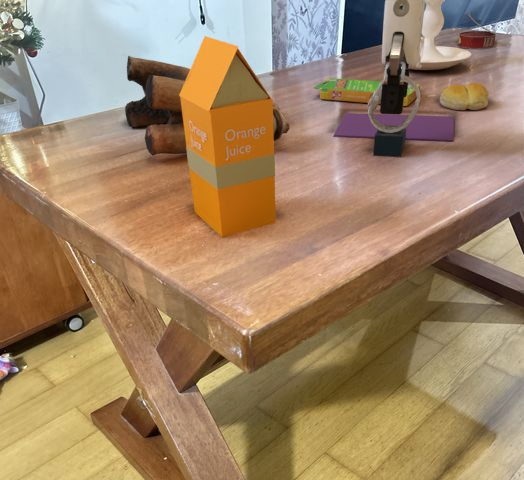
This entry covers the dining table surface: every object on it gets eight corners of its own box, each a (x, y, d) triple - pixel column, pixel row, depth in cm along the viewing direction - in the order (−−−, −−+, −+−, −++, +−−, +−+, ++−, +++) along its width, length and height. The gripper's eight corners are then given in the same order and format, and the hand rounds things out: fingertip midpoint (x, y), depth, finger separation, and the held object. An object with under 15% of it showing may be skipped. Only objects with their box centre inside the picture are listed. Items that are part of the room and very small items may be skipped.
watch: (366, 143, 91) (371, 71, 84) (415, 146, 89) (425, 72, 82) (360, 154, 86) (366, 79, 80) (412, 157, 84) (422, 80, 78)
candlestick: (370, 78, 128) (381, -71, 111) (393, 58, 146) (406, -74, 128) (460, 83, 121) (487, -76, 104) (473, 61, 139) (498, -78, 121)
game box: (406, 111, 108) (311, 98, 115) (418, 99, 114) (327, 88, 121) (409, 94, 106) (312, 82, 113) (421, 84, 112) (329, 73, 119)
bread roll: (437, 100, 110) (440, 79, 108) (483, 100, 109) (488, 78, 106) (440, 111, 104) (444, 88, 101) (489, 111, 102) (494, 88, 100)
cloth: (453, 118, 100) (453, 116, 100) (453, 141, 90) (453, 139, 89) (345, 114, 105) (345, 113, 105) (333, 136, 94) (333, 134, 94)
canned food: (465, 60, 162) (477, 24, 159) (495, 60, 155) (509, 22, 152) (445, 44, 154) (458, 6, 152) (476, 44, 147) (490, 4, 145)
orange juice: (245, 199, 74) (235, 32, 62) (277, 222, 68) (272, 41, 56) (192, 212, 71) (171, 40, 59) (220, 237, 65) (203, 51, 53)
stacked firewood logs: (148, 67, 75) (309, 71, 84) (116, 54, 100) (243, 58, 108) (153, 162, 82) (302, 157, 90) (122, 128, 107) (242, 126, 115)
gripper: (434, -27, 65) (415, 121, 76) (437, -36, 78) (421, 91, 89) (371, -25, 67) (362, 120, 78) (385, -34, 80) (375, 90, 91)
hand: (393, 104), depth 83 cm, fingers open, 9 cm apart
